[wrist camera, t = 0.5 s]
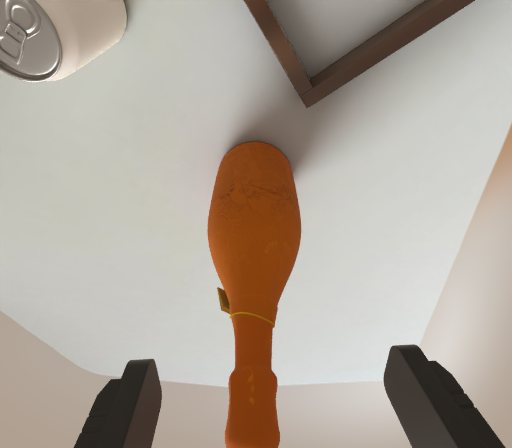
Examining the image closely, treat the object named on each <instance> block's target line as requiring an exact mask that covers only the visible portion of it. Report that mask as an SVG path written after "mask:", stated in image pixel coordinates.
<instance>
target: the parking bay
mask: <svg viewBox="0 0 512 448" xmlns="http://www.w3.org/2000/svg"><path fill="white" fill-rule="evenodd" d="M473 1H475V0H426V1H424V2H423V3H421V4H420V5H418V6H417V7H415V8H414V9H413V10H411V11H410V12H408V13H407V14H405V15H404V16H402V17H401V18H399V19H398V20H396V21H395V22H394V23H392V24H391V25H389V26H388V27H386V28H385V29H383V30H382V31H380V32H379V33H377V34H376V35H375V36H373V37H372V38H370V39H369V40H367V41H366V42H364V43H363V44H361V45H360V46H358V47H357V48H355V49H354V50H353V51H351V52H350V53H348V54H347V55H345V56H344V57H342V58H341V59H339V60H338V61H336V62H335V63H334V64H332V65H331V66H329V67H328V68H326V69H325V70H323V71H322V72H320V73H319V74H317V75H316V76H315V77H313V78H312V79H309V77H308V75H307V73H306V71H305V69H304V68H303V66H302V64H301V62H300V60H299V58H298V56H297V55H296V53H295V51H294V49H293V47H292V45H291V44H290V42H289V40H288V38H287V36H286V34H285V33H284V31H283V29H282V27H281V25H280V23H279V21H278V20H277V18H276V16H275V14H274V12H273V10H272V9H271V7H270V5H269V3H268V1H267V0H244V2H245V3H246V5H247V7H248V9H249V10H250V12H251V14H252V15H253V17H254V19H255V21H256V22H257V24H258V26H259V27H260V29H261V31H262V32H263V34H264V36H265V38H266V39H267V41H268V43H269V44H270V46H271V48H272V50H273V51H274V53H275V55H276V56H277V58H278V60H279V62H280V63H281V65H282V67H283V68H284V70H285V72H286V73H287V75H288V77H289V79H290V80H291V82H292V84H293V85H294V87H295V89H296V91H297V92H298V94H299V96H300V97H301V99H302V101H303V103H304V104H305V106H306V108H308V107H310V106H311V105H313V104H315V103H316V102H318V101H319V100H321V99H322V98H324V97H325V96H327V95H329V94H330V93H332V92H333V91H335V90H336V89H338V88H339V87H341V86H343V85H344V84H346V83H347V82H349V81H350V80H352V79H353V78H355V77H357V76H358V75H360V74H361V73H363V72H364V71H366V70H367V69H369V68H371V67H372V66H374V65H375V64H377V63H378V62H380V61H381V60H383V59H385V58H386V57H388V56H389V55H391V54H392V53H394V52H395V51H397V50H399V49H400V48H402V47H403V46H405V45H406V44H408V43H409V42H411V41H413V40H414V39H416V38H417V37H419V36H420V35H422V34H423V33H425V32H427V31H428V30H430V29H431V28H433V27H434V26H436V25H437V24H439V23H441V22H442V21H444V20H445V19H447V18H448V17H450V16H451V15H453V14H455V13H456V12H458V11H459V10H461V9H462V8H464V7H465V6H467V5H469V4H470V3H472V2H473Z"/></svg>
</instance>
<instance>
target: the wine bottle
mask: <svg viewBox="0 0 512 448" xmlns="http://www.w3.org/2000/svg"><path fill="white" fill-rule="evenodd" d="M300 239H301V218H300V211H299V205H298V199H297V193H296V188H295V183H294V178H293V173H292V170H291V166H290V164H289V161H288V160H287V158H286V157H285V155H284V154H283V153H282V152H281V151H280V150H278V149H277V148H275V147H274V146H272V145H269V144H266V143H262V142H248V143H244V144H241V145H238V146H236V147H234V148H233V149H231V150H230V151H229V152H228V153H227V154H226V155H225V157H224V158H223V160H222V161H221V164H220V166H219V169H218V173H217V177H216V181H215V186H214V190H213V195H212V200H211V206H210V211H209V218H208V241H209V247H210V252H211V255H212V259H213V262H214V265H215V268H216V271H217V273H218V276H219V278H220V280H221V283H222V285H223V287H224V290H223V289H221V288H219V287H218V288H217V289H218V295H219V300H220V306H221V310H222V311H224V312H227V313H229V314H230V315H231V316H230V318H231V319H232V323H233V328H234V335H235V369H234V371H233V372H232V373H231V375H230V377H229V395H230V398H229V410H228V419H227V425H226V430H225V444H226V448H278V445H279V442H280V432H279V427H278V420H277V410H276V392H277V377H276V376H275V374H274V373H273V372H272V370H271V357H272V329H273V328H274V327H275V320H276V314H277V310H278V309H277V305H278V302H279V299H280V297H281V294H282V292H283V290H284V287H285V285H286V283H287V281H288V278H289V276H290V274H291V271H292V269H293V266H294V264H295V261H296V257H297V254H298V250H299V245H300Z"/></svg>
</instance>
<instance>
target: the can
mask: <svg viewBox="0 0 512 448" xmlns="http://www.w3.org/2000/svg"><path fill="white" fill-rule="evenodd" d="M126 23H127V14H126V8H125V4H124V1H123V0H0V70H1V71H3V72H5V73H6V74H8V75H10V76H12V77H14V78H17V79H20V80H23V81H28V82H43V81H55V80H59V79H62V78H65V77H67V76H68V75H70V74H72V73H73V72H75V71H76V70H78V69H79V68H81V67H82V66H84V65H85V64H87V63H88V62H90V61H91V60H93V59H94V58H96V57H97V56H99V55H100V54H101V53H103V52H104V51H106V50H107V49H109V48H110V47H111V46H113V45H114V44H115V43H117V42H118V41H119V40H120V39H121V37H122V36H123V34H124V32H125V29H126Z"/></svg>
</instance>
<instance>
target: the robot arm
mask: <svg viewBox="0 0 512 448" xmlns="http://www.w3.org/2000/svg"><path fill="white" fill-rule="evenodd" d="M384 386H385V390H386V393H387V395H388V398H389V399H390V401H391V404H392V406H393V408H394V410H395V412H396V414H397V416H398V418H399V420H400V423H401V425H402V427H403V429H404V431H405V433H406V435H407V437H408V439H409V442H410V444H411V446H412V448H505V446H504V445H503V444H502V442H501V441H500V440H499V438H498V437H497V435H496V434H495V433H494V431H493V430H492V429H491V427H490V426H489V425H488V424H487V422H486V420H485V419H484V418H483V417H482V415H481V414H480V412H479V411H478V410H477V408H475V407H474V404H473V403H472V401H471V400H470V399H469V397H468V396H467V395H466V394H464V391H463V389H462V388H461V386H460V385H459V384H458V382H457V381H456V379H455V378H454V377H453V376H452V374H451V373H449V372H448V371H447V370H446V369H445V368H444V367H442V366H441V365H440V364H439V363H437V362H436V361H428V359H427V358H426V356H425V355H424V353H423V352H422V351H421V349H420V348H419V347H418V346H417V345H397V346H392V347H391V349H390V352H389V356H388V360H387V364H386V368H385V372H384ZM161 400H162V391H161V385H160V381H159V376H158V372H157V368H156V364H155V361H154V359H143V360H130V361H129V362H128V363H127V365H126V368H125V370H124V373H123V375H122V378H121V379H111V380H110V381H109V382H108V384H107V385H106V386H105V387H104V388H103V389H102V391H101V392H100V393H99V394H98V395H97V397H96V400H95V402H94V404H93V406H92V408H91V411H90V413H89V417H88V418H87V419H86V422H85V424H84V426H83V429H82V433H80V435H79V437H78V440H77V442H76V444H75V446H74V448H151V446H152V441H153V437H154V433H155V429H156V425H157V421H158V416H159V412H160V408H161Z"/></svg>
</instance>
